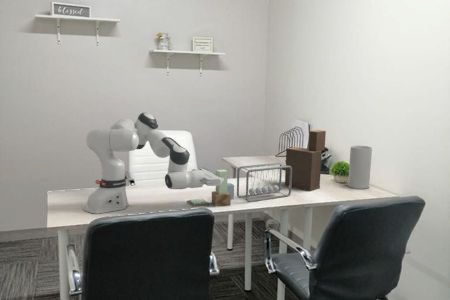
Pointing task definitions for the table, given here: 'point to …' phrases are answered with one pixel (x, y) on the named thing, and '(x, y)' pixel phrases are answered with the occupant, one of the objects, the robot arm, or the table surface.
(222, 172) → the green pillar
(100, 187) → the robot arm
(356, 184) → the cylinder vase
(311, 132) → the stacked brown boxes
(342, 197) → the table surface
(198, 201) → the green tile
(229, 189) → the slate-blue pillar
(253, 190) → the newton's cradle
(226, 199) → the walnut block
